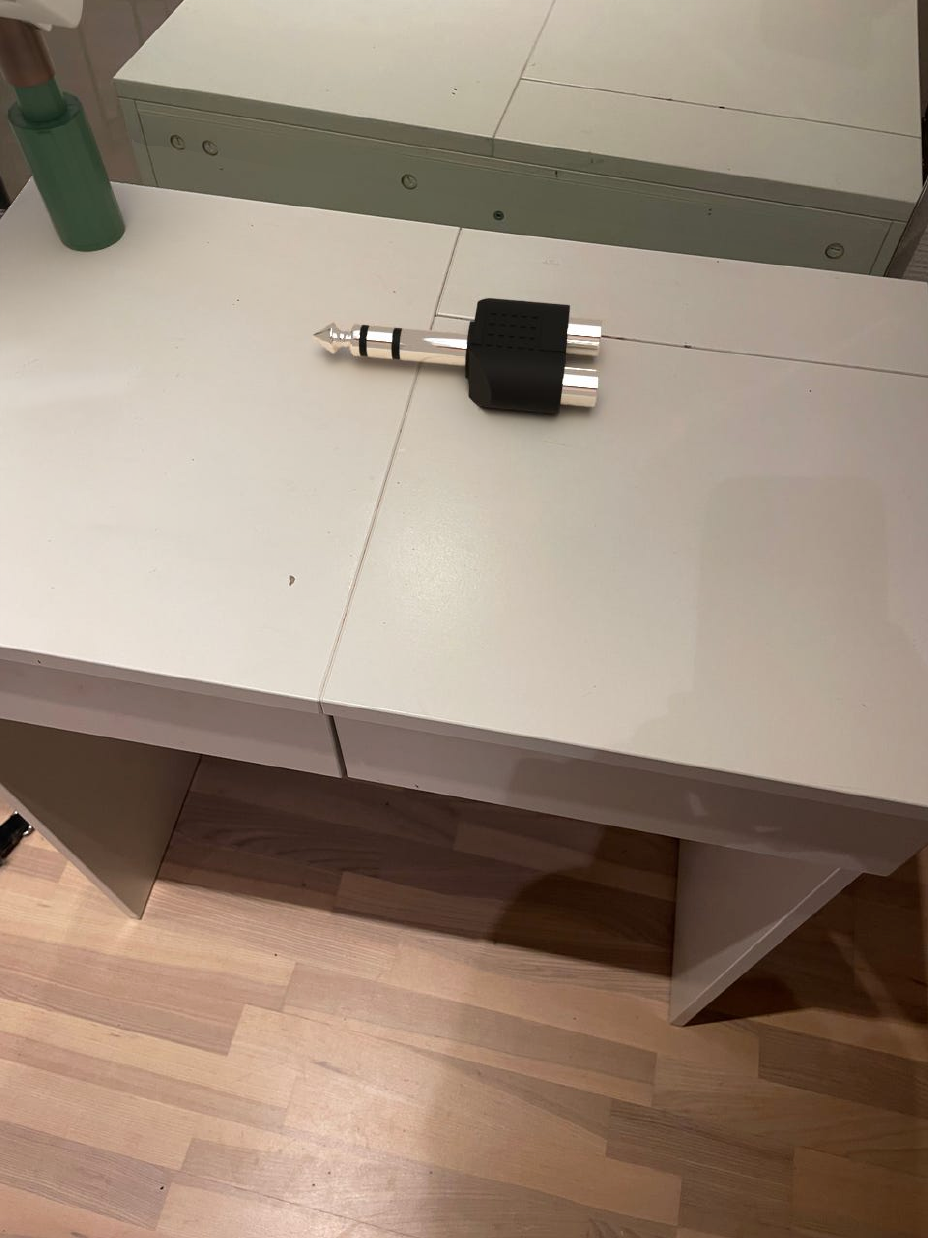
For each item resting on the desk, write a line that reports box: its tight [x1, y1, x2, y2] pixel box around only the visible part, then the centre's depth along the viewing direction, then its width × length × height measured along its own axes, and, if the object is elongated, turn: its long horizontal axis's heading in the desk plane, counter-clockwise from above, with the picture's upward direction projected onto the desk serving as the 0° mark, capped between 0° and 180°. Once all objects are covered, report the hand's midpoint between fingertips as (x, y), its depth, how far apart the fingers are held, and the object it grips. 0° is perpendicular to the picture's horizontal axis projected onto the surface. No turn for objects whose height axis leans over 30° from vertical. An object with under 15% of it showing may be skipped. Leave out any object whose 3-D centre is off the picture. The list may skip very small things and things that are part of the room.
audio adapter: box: [312, 297, 603, 415], centre depth 76 cm, size 11×5×25 cm
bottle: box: [6, 73, 126, 252], centre depth 81 cm, size 6×6×15 cm
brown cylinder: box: [0, 17, 57, 87], centre depth 72 cm, size 4×4×8 cm
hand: (12, 14), depth 72 cm, fingers closed on brown cylinder, 4 cm apart
